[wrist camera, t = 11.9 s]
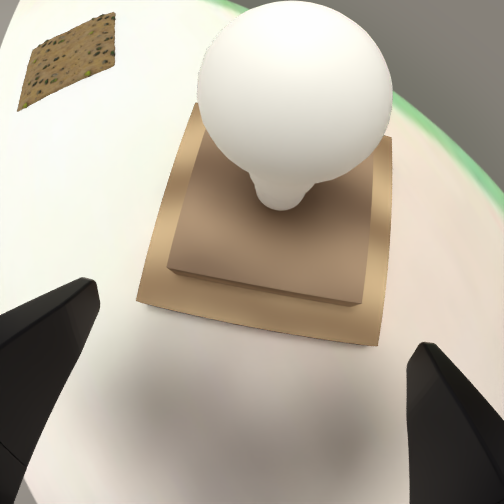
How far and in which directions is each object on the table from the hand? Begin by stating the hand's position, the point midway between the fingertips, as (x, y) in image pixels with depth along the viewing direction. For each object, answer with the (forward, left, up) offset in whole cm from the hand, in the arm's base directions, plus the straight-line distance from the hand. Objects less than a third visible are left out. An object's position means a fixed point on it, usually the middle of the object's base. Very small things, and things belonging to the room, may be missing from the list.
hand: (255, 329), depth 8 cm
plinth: (+7, -1, -11) cm, 14 cm away
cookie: (+26, +22, -12) cm, 36 cm away
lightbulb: (+7, -1, -8) cm, 10 cm away
